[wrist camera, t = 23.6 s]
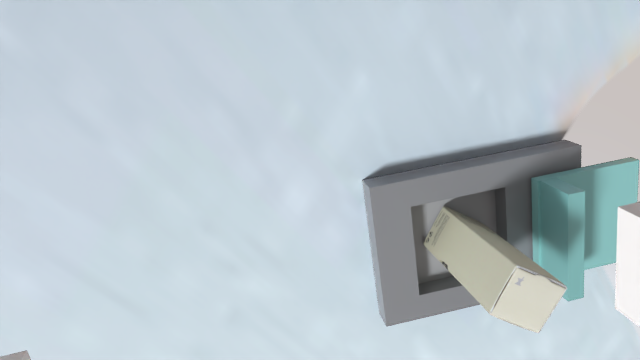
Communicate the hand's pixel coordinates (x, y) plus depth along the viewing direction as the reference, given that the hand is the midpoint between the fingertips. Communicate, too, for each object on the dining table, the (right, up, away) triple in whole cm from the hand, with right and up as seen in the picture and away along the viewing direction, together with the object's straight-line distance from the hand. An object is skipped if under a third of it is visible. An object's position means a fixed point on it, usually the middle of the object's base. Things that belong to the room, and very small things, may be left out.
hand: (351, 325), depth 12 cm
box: (+12, -2, +39) cm, 41 cm away
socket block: (+14, -1, +39) cm, 42 cm away
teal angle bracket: (+24, 0, +38) cm, 45 cm away
